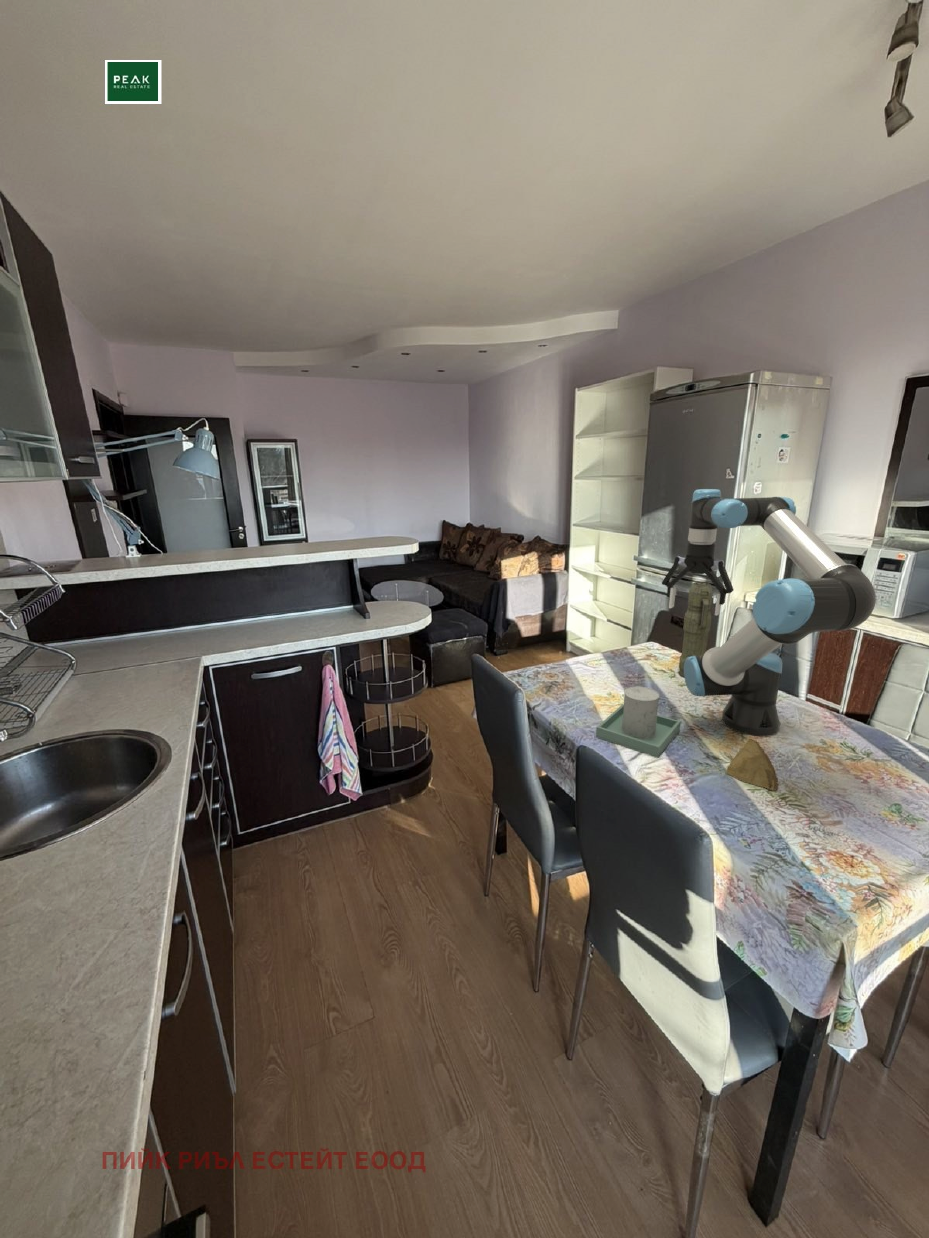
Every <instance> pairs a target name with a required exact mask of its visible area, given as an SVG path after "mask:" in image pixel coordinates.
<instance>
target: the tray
mask: <svg viewBox="0 0 929 1238" xmlns="http://www.w3.org/2000/svg"><path fill="white" fill-rule="evenodd" d="M623 708H624V704H621V705H620V706H619V707H618V708H617V709H615V710H614V711H613V712H612V713H611V714H610V715H608V717H606V718H604V720H603V721H602V722H600V723H599V724H598V725H597V726H596V731H595V737H596V738H598V739H602V740H604V741H607V742H610V743H613V744H615V745H619V746H621V747H624V748H628V749H630V750H634V751H637V752H640V753H642V754H645V755H648V756H651V757H655V758H657V759H658V758H659V757H660V756H661V754H663V752H664V751H665V750H666V748H668V746H669V743H670V744H671V742H672V741H673V740H674V738H675V737H677V735H678V734H679V733H678V732H680V731H681V720H678V719H677V720H676V719H673V718H670V717H666V716H663V715H660V714H657V723H656V735H655V737H654V738H652V739H648V740H639V739H636V738H633V737H630V736H627V735H625V734H624V733H623V732H622V721H623Z"/></svg>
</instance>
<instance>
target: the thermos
mask: <svg viewBox="0 0 929 1238" xmlns="http://www.w3.org/2000/svg"><path fill="white" fill-rule="evenodd" d="M713 593H714V592H713V588H712V584H710V583H709V582H707V581H696V582H693V583H692V584H691V586H690V588H689V589H688V596H687V597H688V598H687V608H686V612H685V614H684V618H683V619H684V620H683V625H682V626H683V628H682V629H683V631H684V633H683V640H682V649H681V651H682V652H681V655H680V656H679V662H678V668H679V669H678V675H679V677H681V678H683V679H685V678H684V663H685V660H686V659H687V658H688V657H691V656H702V655H703V654H704V653H705V652H706V651H707V645H708V639H709V637H708V636H709V633H710V631H711V625H712V614H711V607H712V603H713V601H712V600H713Z"/></svg>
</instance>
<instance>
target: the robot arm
mask: <svg viewBox="0 0 929 1238" xmlns="http://www.w3.org/2000/svg"><path fill="white" fill-rule="evenodd" d="M690 504H691V506H690V517H689V528H688V537H687V541H688V543H687V547H686V555H685V557H682V556H681V555H677V556H676V557H675V558H674V562H673V564H672V566H671V568H670V569H669V570H668V572H667V573H666V575H665V576H664V579H663V580H662V581H661V585H662V586H665V587H667V592H666V597H667V598H669V601H668V609H673V608H674V607H675V600H676V592H677V590H676V589H677V586H675V585H676V584H677V583H678V582H679V581H680V580H681V579H683V577H685V576H686V575H687V574H688V573H689V572H690V573H691V574H699V575H706V576H707V577H708V578H709V580H710V582H711V583H712V584H713V585H714V587H715V588H716V590H717V591H718V593H717V594H716V601H715V609H714V616H719V615H720V614H721V606H723V605H724V604H725V603H726V596H727V594H731V593H732V592H734V587H733V585H732V582H731V580H730V576H729V574H728V572H727V569H726V561H725V559H722V560H721V559H720V560H715V559H714V556H715V551H716V550H715V548H716V544H715V542H716V539H717V533H718V527H719V528H722V529H727V528H728V529H734V528H737V527H746V526H747V527H751V526H753V527H755V526H757V527H758V526H759V527H761V528H762V529H763V530H764V531H765V532H766V533H767V534H768V536H769V537H770V538H771V539H772V540H773V541H774V542H775V543H776V544H777V545H778V546H779V548H780V549H781V550H782V551H783V552H784V553H785V555H787V557H789V559H791V561H792V562H793V563H794V564H795V565H796V566H797V567H798V568H799V570H801V572H802V573H803V574H804V575H805V576H806V577H807V578H782V579H775V580H772V581H769V582H767V583H766V584H764V585H763V586H761V587H760V589H759V590H758V591H757V593H756V595H755V597H754V598H755V601H753V603H752V615H753V618H751V620H750V621H748V622H747V623H746V624H745V625H744V626H742V627H741V628H740V629H739V630H738V631H737V632H736V633H734V635H732V636H731V637H730V638H729V639H728V640H726V641H725V642H724V643H723V644H722V645H721V646H715V647H714V646H713V647H711V648H709V649H708V650H706V652H705V653H704V654H703V655H702V656H691V657H688V658H687V659H686V660H685V663H684V678H683V679H684V682H685V685H686V688H687V689H688V691H689V693H690V694H691V695H693V696H695V697H703V698H705V697H711V696H712V697H713V696H730V698H729V700H728V702H727V703H726V704H725V706H724V707H723V710H722V713H721V721H722V723H723V724H724V725H725V726H726V727H728V728H729V729H731V730H733V731H735V732H738V733H742V734H746V735H749V736H757V737H769V736H773V735H775V734H777V733H778V732H779V729H780V724H781V723H780V718H779V714H778V712H779V711H778V709H777V699H778V693H779V689H780V682H781V676H782V673H783V660H782V658H781V657H780V656H778V654H776V653H774V651H775V650H777V648H779V647H781V645H792V644H794V645H795V644H796V643H799V642H800V641H801V640H803V639H804V638H806V637H808V636H809V635H810V634H812V633H817V632H818V633H819V632H841V631H848V630H852V629H854V628H856V627H859V626H860V625H862V624H863V623H864V622H865V621H867V620H868V619H869V618H870V616H871V615H872V614H873V611H874V609H875V607H876V601H877V597H876V592H875V587H874V586H873V583H872V582H871V580H870V579H869V578H868V576H867V575H866V574H865V573H864V572H863V571H862V570H861V569H860V568H859V567H858V566H856V565H855V564H851V563H846V562H845V561H844V560H843V559H842V558H841V557H840V556H839V555H838V554H836V553H835V551H834V550H833V549H831V548H830V547H829V546H828V545H827V544H826V543H825V542H824V541H823V540H822V539H821V538H820V537H819V536H818V535H817V534H815V532H813V531H812V529H811V528H809V526H807V525H806V524H805V523H804V522H803V521H802V520H801V518H799V517H798V516H797V515H796V514H797V513H796V512H797V507H796V505H795V501H794V500H793V498H790V497H785V496H784V497H783V496H771V497H770V496H769V497H743V498H742V497H738V498H737V497H736V498H733V497H732V498H724V497H722V492H721V490H720V489H718V488H717V489H716V488H715V489H714V488H711V489H710V488H705V489H704V488H702V489H695V490H694V492H693V493H692V500H691V501H690ZM683 563H684V564H685V566H686V567H685V568H684V569H683V570H682V571H681V572H680V573H679V574H677V576H675V577H674V578H673V579H672V577H673V575H674V574H675V572H676V571H677V569H678V568H679V567H680V565H681V564H683ZM713 566H715V567H716V568H717V569H718V572H719V575H720V578H721V580H722V582H723V583H722V582H721V581H720V579H719V578H718V576H717V575H716V573H715V571H714V570H713ZM671 579H672V580H671ZM670 580H671V581H670Z"/></svg>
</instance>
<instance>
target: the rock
mask: <svg viewBox="0 0 929 1238" xmlns="http://www.w3.org/2000/svg"><path fill="white" fill-rule="evenodd" d="M724 772H725V775H729V776H731V777H734V778H735V779H736V778H737V780H739V781H741V780H742V781H741V782H744V783H746V784H749V785H750V784H751V785H754V786H756V787H761V788H764V787H765V789H766V788H767V790H770V791H775V790H777V789H778V787H779V783H778V782H779V778H778V777H777V773H776V769H775V767H774V765H773V763H772V761H771V759H770V758H769V755H768V754H767V753H766V752H765V749H763V747H762V746H761V745H760V743H759V742H758V741H756V740H755V739H753V738H749V739H748V740H747V741H746V742H745V743H744V744H743V746H742V747H740V749H739V750H738V751H737V752H736V755H735V756H734V757H733V758H732V759H731V761H730V763H729V765H728V766H727V767H726V770H725V771H724Z"/></svg>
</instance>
